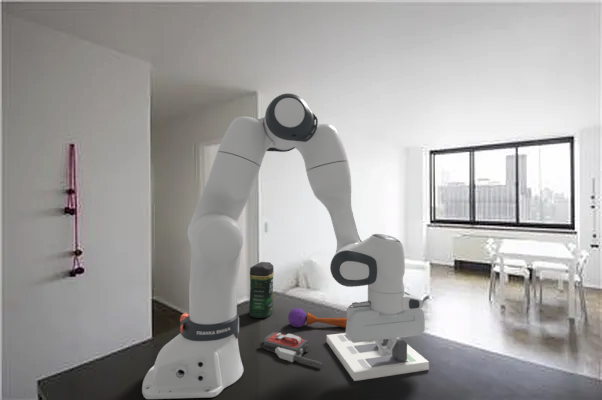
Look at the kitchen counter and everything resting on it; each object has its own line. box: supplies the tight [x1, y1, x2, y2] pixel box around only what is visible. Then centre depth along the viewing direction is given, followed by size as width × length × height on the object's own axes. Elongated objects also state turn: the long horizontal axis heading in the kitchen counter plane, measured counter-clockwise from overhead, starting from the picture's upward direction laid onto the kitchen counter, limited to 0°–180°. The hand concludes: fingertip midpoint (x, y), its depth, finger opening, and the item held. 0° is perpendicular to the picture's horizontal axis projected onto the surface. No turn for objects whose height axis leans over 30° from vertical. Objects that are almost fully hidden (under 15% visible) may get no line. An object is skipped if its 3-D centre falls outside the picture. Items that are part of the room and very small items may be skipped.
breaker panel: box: [326, 332, 430, 382], centre depth 85 cm, size 20×20×2 cm
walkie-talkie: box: [259, 331, 323, 367], centre depth 86 cm, size 9×4×20 cm
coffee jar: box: [248, 261, 275, 319], centre depth 113 cm, size 10×8×19 cm
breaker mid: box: [381, 339, 389, 346], centre depth 86 cm, size 2×3×4 cm
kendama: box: [287, 307, 347, 329], centre depth 103 cm, size 6×6×20 cm
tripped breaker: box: [392, 337, 408, 361], centre depth 79 cm, size 2×3×4 cm
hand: (385, 354), depth 78 cm, fingers closed
